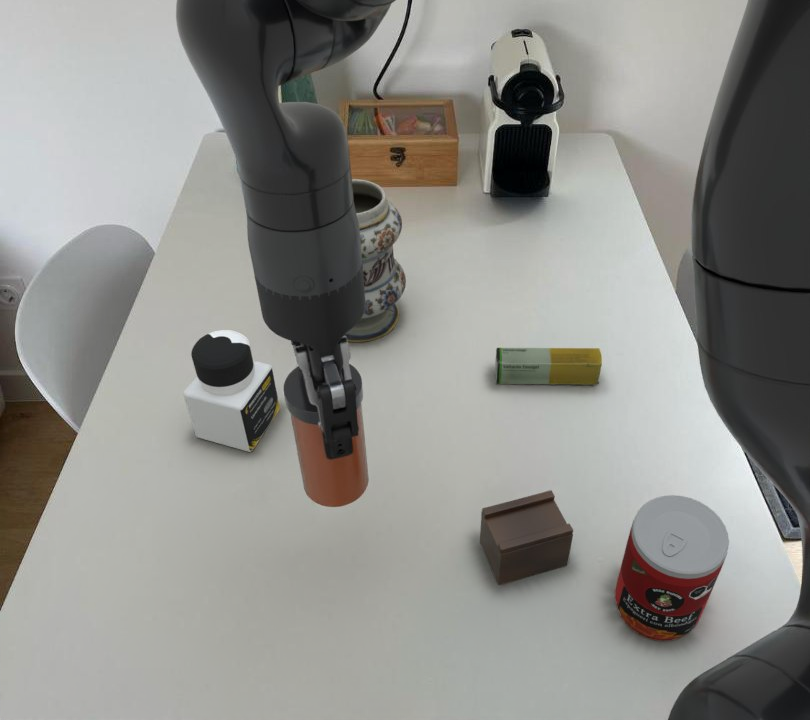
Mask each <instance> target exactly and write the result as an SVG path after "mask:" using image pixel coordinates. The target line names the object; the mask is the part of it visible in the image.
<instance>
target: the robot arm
mask: <svg viewBox="0 0 810 720" xmlns="http://www.w3.org/2000/svg"><path fill="white" fill-rule="evenodd" d="M396 1H397V0H176V3H175V4H176V5H175V21H176V27H177V33H178V37H179V41H180V43H181V46H182V48H183V51H184V53H185V54H186V57H187V60H188V61H189V63H190V65H191V66H192V68H193V70H194V72H195V74H196V76H197V78H198V79H199V81H200V83H201V85H202V87H203V89H204V90H205V92H206V94H207V96H208V98H209V100H210V102H211V104H212V106H213V109H215V110H214V111H215V112H216V115H217V117H218V119H219V121H220V123H221V126H222V128H223V130H224V133H225V135H226V137H227V140H228V142H229V144H230V147H231V150H232V151H233V154H234V158H235V160H236V162H237V163H236V164H237V171H238V174H239V181H240V185H241V186H240V187H241V192H242V196H243V202H244V207H245V214H246V231H247V233H246V234H247V235H246V236H247V244H248V250H249V255H250V259H251V264H252V270H253V275H254V280H255V285H256V291H257V296H258V301H259V307H260V311H261V316H262V319H263V322H264V323H265V325H266V327H267V328H268V329H269V330H270V331H271V332H272V333H274V334H275V335H277V336H279V337H280V338H282V339H285V340H288V341H290V344H291V346H292V348H293V352H294V356H295V360H296V364H297V367H298V366H299V368H300V369H301V370H302V373H303V378H304V382H305V387H306V392H307V397H308V399H309V401H310V403H311V404H312V405H315V406H316V408H317V413H318V418H319V421H318V426H319V428H321V431H322V437H323V444H324V451H325V454H326V457H327V459H330V460H332V459H337V458H341V457H345V456H349V455H351V454H352V453H353V442H352V437H355V436H358V431H359V426H358V421H357V406H356V392H355V391H356V385H355V383H353V380H352V377H351V372H350V367H349V364H350V360H351V357H352V355H351V349H350V343H349V341H348V339H347V336H344V335H345V334H346V333H347V332H348V331H350V330H351V329H352V328H353V327H354V326H356V325H357V323H358V322H359V321H360V319H361V318H362V316H363V314H364V311H365V305H366V302H365V289H364V277H363V265H362V252H361V239H360V229H359V223H358V218H357V214H356V210H355V206H354V200H353V188H352V179H353V177H352V165H351V164H352V163H351V156H350V155H351V154H350V146H349V145H350V144H349V137H348V133H347V129H346V127H345V124H344V122H343V120H342V119H341V117H340V116H339V115H338V114H337V112H335V111H334V110H333V109H331V108H329V107H327V106H325V105H322V104H319V103H314V102H307V101H286V102H285V101H284V102H280V98H279V97H280V96H279V87H280V86H282V85H285V84H288V83H290V82H293V81H296V80H298V79H300V78H302V77H305V76H307V75H310V74H313V73H316V72H318V71H321V70H324V69H326V68H328V67H330V66H333V65H335V64H337V63H339V62H341V61H343V60H344V59H346V58H347V57H349V56H351V55H352V54H354V53H356V51H358V50H359V49H360V48H362V47H363V46H364V45H366V43H367V42H368V41H369V40H370V39H371V38H372V36H373V35H374V34H375V33H376V31H377V30H378V28H379V26H380V24H381V23H382V21H383V20H384V18H385V17H386V16H387V13H388V12H389V10H390V8H391V6H392V4H394V3H395V2H396ZM711 112H712V113H711V116H710V120H709V123H708V127H707V129H706V133H705V138H704V141H703V146H702V150H701V155H700V158H699V162H698V169H697V173H696V178H695V184H694V190H693V196H692V206H691V207H692V208H691V228H690V229H691V231H690V232H691V233H690V235H691V237H690V238H691V240H690V241H691V253H692V255H691V264H692V278H693V279H692V281H693V292H694V293H693V295H694V312H695V330H696V331H695V332H696V343H697V351H698V352H697V353H698V359H699V367H700V372H701V376H702V380H703V381H702V382H703V385H704V389H705V391H706V393H707V395H708V398H709V401H710V403H711V404H712V406H713V408H714V410H715V412H716V413H717V415H718V417H719V418H720V420H721V421H722V423H723V425H724V427H726V429H727V430H728V432H729V433H730V435H731V436H732V437H733V438H734V440H735V441H736V442H737V444H738V445H739V446H740V448H741V449H742V450H743V451H744V453H745V454H746V455H747V457H748V458H749V459H750V460H751V462H752V463H753V464H754V465H755V466H756V467H757V468H758V469H759V471H761V473H762V474H763V475H764V476H765V478H767V479H768V481H769V482H770V483H771V484H772V485H773V487H775V489H777V491H779V493H780V494H781V495H782V496H783V497H784V499H785V500H786V501H787V502H788V504H789V505H790V506H791V507H792V509H793V511H794V512H795V515H796V517H797V520H798V525H799V530H800V536H801V537H800V538H801V539H800V540H801V555H802V557H801V558H802V562H801V563H802V568H801V583H800V590H799V597H798V601H797V603H796V608H795V609H794V611H793V613H792V615H791V616H790V618H789V619H788V621H787V622H786V623H785V624H783V625H781V626H780V627H779V628H777V629H775V630H773V631H771V632H770V633H768V634H766V635H765V636H763V637H761V638H759V639H758V640H756V641H754V642H753V643H751V644H749V645H747V646H745V648H743V649H741V650H739V651H738V652H736V653H734V654H733V655H731V656H729V657H728V658H726V659H725V660H722V661H721V662H719V663H718V664H716V665H715V666H712V667H711V668H709V669H707V670H705V671H704V672H702V673H701V674H699V675H697V676H696V677H695V678H693V679H692V680H691V681H690V682H689V683H688V684H687V685H686V686H685V687H684V688H683V690H682V691H681V692H680V693H679V695H678V696H677V698H676V699H675V701H674V703H673V705H672V708H671V710H670V713H669V715H668V718H667V720H810V0H747V3H746V7H745V10H744V13H743V15H742V19H741V21H740V24H739V28H738V30H737V33H736V36H735V39H734V42H733V46H732V49H731V52H730V54H729V57H728V61H727V63H726V67H725V69H724V73H723V76H722V78H721V82H720V85H719V89H718V92H717V95H716V98H715V102H714V106H713V108H712V111H711ZM341 371H342V376H343V381H342V382H341V379H340V374H341ZM312 379H313V382H317V383H324V382H326V385H322V386H318V390H317V389H314V387H313V382H312Z"/></svg>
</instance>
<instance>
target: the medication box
mask: <svg viewBox="0 0 810 720" xmlns="http://www.w3.org/2000/svg"><path fill="white" fill-rule="evenodd" d="M602 358H603V357H602V352H601V349H600V348H599V347H598V348H597V347H496V349H495V363H494V382H495V384H496V385H498V384H500V385H502V384H503V385H507V384H508V385H512V384H513V385H590V386H591V385H594V386H595V385H596V386H597V385H600V381H599V379H600V374H601V370H602V365H603V359H602Z"/></svg>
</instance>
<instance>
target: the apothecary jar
mask: <svg viewBox="0 0 810 720" xmlns="http://www.w3.org/2000/svg"><path fill="white" fill-rule="evenodd" d="M352 188H353V200H354V206H355V210H356V214H357V218H358V223H359V229H360V239H361V252H362V265H363V277H364V289H365V302H366V305H365V311H364V314H363V316H362V318H361V319H360V321H359V322H358V323H357V325H356V326H354V327H353V328H352V329H351V330H350V331H348V332H347V333H346V334H345V335H344V336H347V339H348V343H349V342H351V343H365V342H371V341H374V340H377V339H380V338H382V337H383V336H386V335H387V334H389V333H390V332H391V331H392V330H393V329H394V328H395V327H396V325H397V323H398V321H399V319H400V318H399V317H400V311H399V308H398V306H397V304H396V303H398V301H399V300H400V299H401V298H402V296H403V295H404V292H405V288H406V284H407V279H406V274H405V271H404V269H403V267H402V265H401V264H400V263H399V261H397V259H396V258H395V256H394V255H395V254H394V244H395V243H396V242H397V241H398V239H399V238H400V235H401V233H402V230H403V229H402V228H403V221H402V216H401V214H400V212H399V210H398V209H397V207H396V206H395V205H394V204H393V203H392V202H390V201H389V200H388V199H387V195H386V192H385V191H384V189H383V188H382V187H381V186H380V185H379V184H377V183H375V182H374V181H373V182H372V181H371V180H366V179H359V178H352Z"/></svg>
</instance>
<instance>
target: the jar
mask: <svg viewBox="0 0 810 720" xmlns="http://www.w3.org/2000/svg"><path fill="white" fill-rule="evenodd" d="M349 367H350V372H351V377H352V380H353V383H355V385H356V391H355V392H356V406H357V421H358V426H359V431H358V436H355V437H352V442H353V453H352V454H351V455H349V456H345V457H341V458H337V459H332V460H330V459H327V457H326V454H325V451H324V444H323V437H322V431H321V428H319V426H318V421H319V418H318V413H317V408H316V406H315V405H312V404H311V403H310V401H309V399H308V397H307V392H306V387H305V382H304V378H303V373H302V370H301V369H300V368H299V366H298V365H297V366H296V367H295V368H294V369H292V371H290V372H289V374H288V375H287V377H286V378H285V380H284V382H283V396H284V400H285V405H286V408H287V410H288V412H289V413H290V419H291V425H292V429H293V435H294V441H295V446H296V447H295V448H296V451H297V458H298V463H299V468H300V474H301V479H302V485H303V490H304V493H305V494H306V496H307V497H308V499H310V500H311V501H312V502H314V503H315V504H317V505H319V506H322V507H326V508H339V507H345V506H347V505H350V504H353V503H354V502H356V501H357V500H359V499H360V498H361V497H362V496H363V495H364V493H366V490H367V488H368V485H369V481H370V479H369V478H370V477H369V467H368V456H367V447H366V446H367V445H366V435H365V427H364V414H363V405H362V402H363V400H364V399H363V398H364V390H363V389H364V388H363V378H362V376H361V374H360V372H359V371H358V369H357V368H356V367H355V366H354V365H352V364H350V363H349ZM340 379H341V382H342V381H343V376H342V371H341V374H340ZM312 382H313V379H312ZM322 385H326V382H324V383H317V382H313V387H314V389H317V390H318V386H322Z"/></svg>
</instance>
